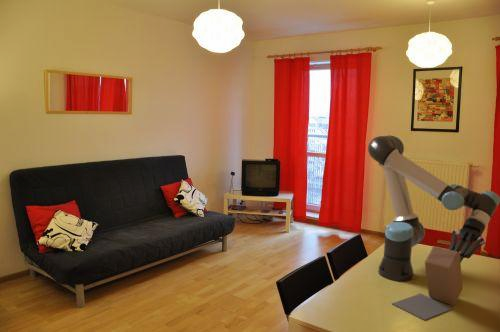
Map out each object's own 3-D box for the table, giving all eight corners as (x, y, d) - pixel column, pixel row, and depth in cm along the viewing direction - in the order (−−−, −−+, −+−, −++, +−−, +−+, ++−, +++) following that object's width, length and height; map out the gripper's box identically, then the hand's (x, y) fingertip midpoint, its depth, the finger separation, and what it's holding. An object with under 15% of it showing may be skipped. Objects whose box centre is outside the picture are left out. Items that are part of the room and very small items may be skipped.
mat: (420, 294, 164) (420, 293, 164) (453, 308, 153) (453, 307, 153) (391, 304, 155) (391, 303, 155) (424, 320, 143) (424, 319, 143)
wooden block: (437, 280, 167) (433, 244, 158) (463, 288, 160) (460, 251, 151) (428, 298, 161) (423, 261, 152) (454, 306, 155) (451, 269, 146)
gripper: (457, 214, 171) (431, 258, 164) (490, 221, 160) (464, 268, 153) (463, 224, 175) (437, 268, 167) (495, 232, 164) (469, 279, 156)
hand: (450, 268), depth 160 cm, fingers closed
